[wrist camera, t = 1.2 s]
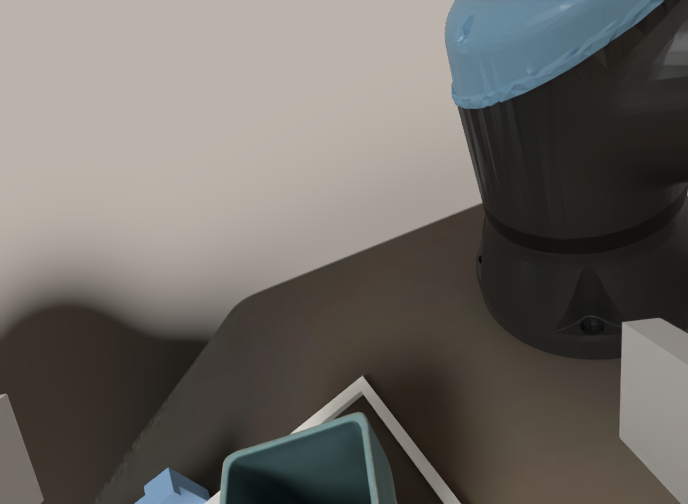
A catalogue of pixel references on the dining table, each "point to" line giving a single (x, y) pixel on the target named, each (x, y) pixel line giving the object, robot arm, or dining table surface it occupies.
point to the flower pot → (312, 468)
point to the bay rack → (193, 500)
